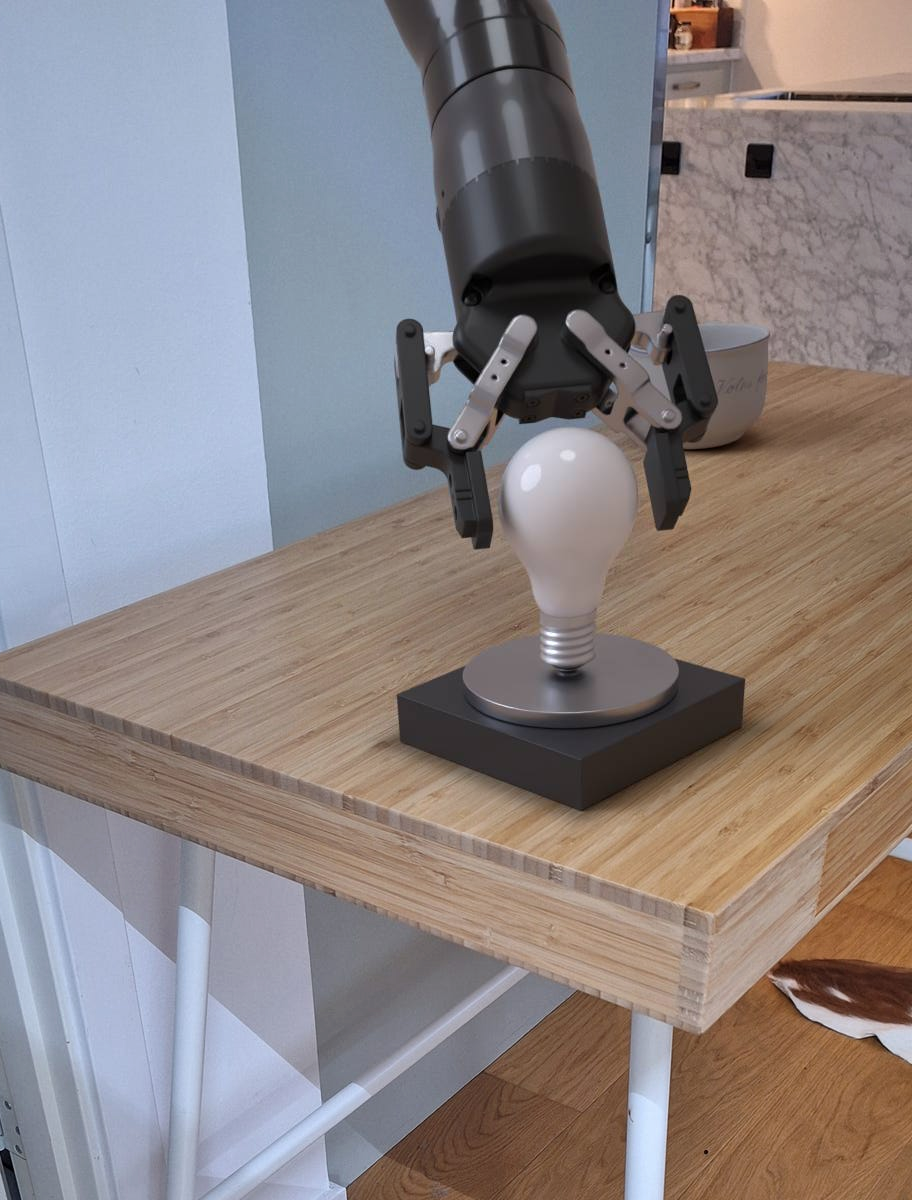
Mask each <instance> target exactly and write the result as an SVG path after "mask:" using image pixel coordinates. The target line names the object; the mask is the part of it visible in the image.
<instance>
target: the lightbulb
mask: <svg viewBox="0 0 912 1200" xmlns="http://www.w3.org/2000/svg"><path fill="white" fill-rule="evenodd" d="M639 503H640V495H639V486H638V481H637V477H636V473H635V471H634V469H633V465H632V464H631V462H630V460H629V459H628V457H627V456H626V454H625V452H624V451H623V450H622V449H621V448H620V447H619V445H617V444H616V443H615V442H614V441H612V439H610V438H608V437H607V436H605V435H604V434H602V433H600V432H598V431H596V430H593V429H589V428H586V427H581V426H560V427H554V428H551V429H548V430H545V431H543V432H541V433H539V434H537V435H535V436H533V437H532V438H530V439H528V441H526V442H525V443H524V444H523V445H522V446H520V447H519V448H518V450H517V451H516V452H515V454H513V456H512V457H511V458H510V460H509V462H508V464H507V466H506V468H505V469H504V472H503V474H502V477H501V480H500V484H499V489H498V494H497V514H498V520H499V523H500V527H501V530H502V533H503V536H504V537H505V539H506V542H507V544H508V545H509V546H510V548H511V550H512V551H513V553H514V554H515V556H516V557H517V559H518V561H520V563H521V564H522V566H523V567H524V569H525V571H526V574H527V576H528V579H529V582H530V586H531V587H530V588H531V592H532V596H533V599H534V601H535V604H536V606H537V607H538V609H539V624H540V626H541V627H540V628H539V633H540V634H542V636H541V637H540V641H541V643H542V644H541V646H540V650H541V651H542V652H541V654H540V657H541V659H542V660H543V661H544V662H546V663H548V664H550V665H551V666H553V667H555V668H557V669H559V670H561V671H574V670H576V669H578V668H580V667H582V666H584V665H585V664H587V663H588V662H590V661H592V660H593V659H594V658H595V656H596V648H595V645H596V639H595V636H596V633H597V631H596V628H597V622H596V619H597V614H598V613H597V611H598V610H597V608H598V605H600V602H601V600H602V597H603V594H604V589H605V585H606V580H607V576H608V574H609V571H610V569H611V568H612V566H613V564H614V562H615V561H616V559H617V558H618V556H619V554H620V553H621V552H622V550H623V549H624V547H625V546H626V544H627V542H628V540H629V539H630V537H631V534H632V532H633V530H634V528H635V525H636V522H637V517H638V513H639Z"/></svg>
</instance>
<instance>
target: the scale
mask: <svg viewBox="0 0 912 1200" xmlns="http://www.w3.org/2000/svg"><path fill="white" fill-rule="evenodd" d="M539 635H542V634H541V633H540V634H539ZM673 658H674V659H675V660H676V662H677V664H678V667H679V685H678V690H677V692H676V694H675V696H674V697H673V698H672V699H671V700H670V701H669V702H668V703H667V704H666V705H664V706H663V707H661V708H660V709H658V710H656V711H654V712H652V713H650V714H647V715H645V716H642V717H639V718H636V719H633V720H630V721H626V722H622V723H617V724H612V725H606V726H598V727H589V728H568V729H559V728H541V727H532V726H525V725H519V724H514V723H510V722H506V721H502V720H499V719H496V718H493V717H491V716H488V715H486V714H484V713H482V712H481V711H479V710H477V709H476V708H475V707H473V706H472V705H471V704H470V703H469V702H468V701H467V699H466V697H465V695H464V691H463V671H464V669H465V667H466V665H463V666H461V667H459V668H457V669H454V670H451V671H449V672H446V673H444V674H441V675H439V676H437V677H435V678H432V679H429V680H427V681H425V682H423V683H420V684H418V685H415V686H413V687H410V688H408V689H405V690H403V691H401V692H398V693H397V694H396V705H397V706H396V707H397V716H398V717H397V718H398V719H397V721H398V734H399V741H400V742H401V743H404V744H406V745H409V746H411V747H414V748H416V749H419V750H422V751H424V752H428V753H430V754H432V755H435V756H437V757H440V758H442V759H446V760H448V761H451V762H453V763H456V764H458V765H461V766H464V767H466V768H469V769H472V770H473V771H476V772H480V773H481V774H484V775H487V776H489V777H492V778H495V779H496V780H497V779H498V780H500V781H503V782H505V783H508V784H511V785H513V786H516V787H518V788H521V789H524V790H527V791H529V792H532V793H534V794H537V795H539V796H542V797H545V798H547V799H550V800H553V801H554V802H555V801H556V802H558V803H561V804H562V805H566V806H569V807H571V808H573V809H576V810H579V811H583V810H585V809H588V808H589V807H591V806H593V805H595V804H597V803H600V802H601V801H603V800H605V799H607V798H608V797H610V796H613V795H614V794H616V793H618V792H620V791H621V790H624V789H625V788H628V787H630V786H631V785H633V784H635V783H637V782H640V781H641V780H643V779H645V778H647V777H648V776H651V775H653V774H654V773H657V772H658V771H660V770H662V769H664V768H667V767H668V766H669V765H672V764H673V763H675V762H677V761H679V760H680V759H683V758H685V757H687V756H689V755H690V754H692V753H694V752H696V751H697V750H698V751H699V750H700V749H702V748H704V747H706V746H708V745H710V744H711V743H713V742H715V741H716V740H718V739H719V740H720V739H721V738H722V737H724V736H725V737H726V736H727V735H728V734H730V733H733V732H734V731H736V730H738V729H740V728H742V726H743V720H744V719H743V717H744V705H745V704H744V703H745V690H746V678H745V677H741V676H738V675H734V674H731V673H727V672H723V671H720V670H717V669H713V668H710V667H707V666H703V665H699V664H696V663H692V662H688V661H685V660H681V659H678V658H675V657H673Z"/></svg>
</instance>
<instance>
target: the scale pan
mask: <svg viewBox="0 0 912 1200" xmlns="http://www.w3.org/2000/svg"><path fill="white" fill-rule="evenodd" d="M541 636H542V635H540V634H536V635H535V634H534V635H530V636H524V637H519V638H515V639H512V640H507V641H504V642H501V643H498V644H497V645H493V646H491V647H489V648H486V649H484V650H483V651H481V652H479V653H478V654H476V655H475V656H473V657H472V658H471V659H470V660H469V661H468V662H467V663H466V665H465V666H466V667H465V669H464V671H463V691H464V695H465V697H466V699H467V701H468V702H469V703H470V704H471V705H472V706H473V707H475V708H476V709H477V710H479V711H481V712H482V713H484V714H486V715H488V716H491V717H493V718H496V719H499V720H502V721H506V722H510V723H514V724H519V725H525V726H532V727H541V728H559V729H568V728H589V727H598V726H606V725H612V724H617V723H622V722H626V721H630V720H633V719H636V718H639V717H642V716H645V715H647V714H650V713H652V712H654V711H656V710H658V709H660V708H661V707H663V706H664V705H666V704H667V703H668V702H669V701H670V700H671V699H672V698H673V697H674V696H675V694H676V692H677V690H678V685H679V667H678V664H677V662H676V660H675V659H676V658H675V657H673V655H672V654H670V653H669V652H668V651H666V650H665V649H663V648H661V647H660V646H658V645H654V644H652V643H650V642H647V641H644V640H640V639H638V638H633V637H629V636H623V635H618V634H610V633H602V632H596V636H595V639H596V645H595V648H596V656H595V658H594V659H593V660H592V661H590V662H588V663H587V664H585V665H584V666H582V667H580V668H578V669H576V670H574V671H561V670H559V669H557V668H555V667H553V666H551V665H550V664H548V663H546V662H544V661H543V660H542V659H541V657H540V654H541V652H542V651H541V650H540V646H541V644H542V643H541V641H540V637H541ZM674 658H675V659H674Z"/></svg>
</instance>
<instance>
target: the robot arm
mask: <svg viewBox="0 0 912 1200" xmlns="http://www.w3.org/2000/svg"><path fill="white" fill-rule="evenodd" d="M382 1H383V4H384V5H385V7H386V9H387V11H388V12H387V13H389V16H390V18H391V20H392V23H393V25H394V27H395V29H396V32H397V33H398V35H399V38H400V40H401V42H402V45H403V46H404V48H405V50H406V51H407V54H408V55H409V57H410V58H411V60H412V63H413V64H414V66H415V68H416V70H417V72H418V75H419V77H420V81H421V90H422V97H423V102H424V106H425V112H426V113H425V114H426V118H427V124H428V125H427V126H428V130H429V136H430V141H431V152H432V179H433V191H434V197H435V203H436V206H435V219H436V224H437V227H438V231H439V232H440V235H441V239H442V240H441V241H442V244H443V250H444V256H445V263H446V268H447V273H448V278H449V285H450V290H451V296H452V297H451V298H452V303H453V309H454V315H455V320H456V324H455V326H454V329H453V330H440V331H439V330H438V331H424V328H423V325H422V324H421V322H419V320H416V319H414V318H405V319H402V320H400V321H399V323H398V324H397V326H396V332H395V344H394V360H393V367H394V368H393V369H394V378H395V388H396V389H395V390H396V400H397V410H398V421H399V430H400V440H401V441H400V442H401V452H402V459H403V460H402V461H403V463H404V465H405V466H406V467H407V468H409V469H410V470H414V471H421V470H423V469H425V468H426V467H428V468H432V469H436V470H439V471H440V472H441V473H443V474H444V476H445V477H446V481H447V484H448V490H449V496H450V502H451V507H452V514H453V521H454V526H455V530H456V531H457V533H458V534H459V536H460V538H461V539H469V538H470V539H471V544H472V549H473V551H474V550H477V551H478V550H485V549H490V548H491V543H492V541H493V535H494V518H493V512H492V507H491V506H492V505H491V501H490V496H489V490H488V488H489V487H488V482H487V477H486V473H485V472H486V471H485V466H484V460H483V454H482V451H483V450H484V448H485V447H487V446H488V445H489V444H490V443H491V440H492V439H493V437H494V436H495V434H496V432H497V430H499V427H500V425H501V424H502V422H503V420H504V419H505V417H506V416H507V417H510V418H512V419H516V420H517V421H518V425H529V424H536V423H539V422H542V421H545V420H548V419H550V418H554V419H563V420H578V419H579V420H581V419H586V415H587V413H589V412H591V413H593V414H594V415H595V416H596V417H597V418H598V419H599V420H600V421H601V422H602V423H604V425H606V426H607V427H608V428H609V429H610V430H611V431H613V432H614V433H623V434H625V435H626V436H627V437H628V438H629V439H630V440H631V441H632V442H634V443H635V444H636V445H637V446H638V447H639V448H640V449H641V450H642V451H643V452H645V454H644V455H645V456H644V458H643V461H642V464H643V469H644V475H645V480H646V485H647V490H648V491H647V492H648V496H649V500H650V506H651V511H652V516H653V521H654V522H653V523H654V527H655V530H656V531H657V532H661V531H671V530H674V529H675V527H676V524H677V523H678V520H679V518H680V517H682V516H683V514H684V512H685V509H686V507H687V505H688V503H689V501H690V498H691V494H692V485H691V484H692V483H691V479H690V475H689V474H690V473H689V470H688V464H687V459H686V455H685V449H684V448H683V443H685V442H690V443H696V442H699V441H700V440H702V438H703V437H704V435H705V432H706V430H707V425H708V423H709V421H710V419H711V416H712V414H713V413H714V411H715V409H716V407H717V405H718V397H717V393H716V390H715V386H714V382H713V379H712V375H711V371H710V367H709V364H708V360H707V356H706V353H705V349H704V345H703V342H702V338H701V334H700V330H699V327H698V324H699V323H698V320H697V316H696V312H695V309H694V305H693V302H692V300H690V298H689V297H687V296H686V295H683V294H675V295H673V296H671V297H670V298H669V299H668V300H667V303H666V306H665V308H664V309H659V310H653V311H645V312H639V313H632V311H631V310H630V309H629V307H627V306H626V304H625V303H624V301H623V300H622V298H621V296H620V294H619V289H618V282H617V275H616V270H615V265H614V259H613V254H612V249H611V243H610V238H609V234H608V229H607V223H606V219H605V213H604V208H603V207H604V206H603V202H602V197H601V193H600V187H599V181H598V177H597V176H598V175H597V172H596V167H595V161H594V156H593V151H592V148H591V147H592V146H591V142H590V140H589V137H588V133H587V131H586V128H585V125H584V122H583V120H582V116H581V114H580V111H579V106H578V103H577V98H576V92H575V87H574V82H573V77H572V70H571V67H570V61H569V55H568V51H567V47H566V46H567V45H566V42H565V37H564V33H563V29H562V26H561V23H560V20H559V18H558V15H557V12H556V11H555V9H554V8H553V6H552V3H550V1H549V0H382ZM633 344H635V345H639V346H642V347H643V348H644V349H645V350H646V351H647V353H648V355H649V357H650V358H651V359H652V360H651V361H652V363H653V364H654V365H656V366H658V365H660V364H662V368H663V372H664V376H665V380H666V383H667V387H668V391H669V395H670V398H671V401H670V400H669V399H667V398H666V397H665V396H664V395H663V394H662V393H661V392H660V391H659V390H658V389H656V388H655V387H654V386H653V385H652V383H651V381H650V377H649V374H648V372H647V371H646V370H645V369H644V368H643V367H642V366H641V365H640V364H639V363H638V362H637V361H636V360H634V359H633V358H632V357H631V356H630V351H629V350H630V347H631V345H633ZM450 362H452V363H453V365H454V367H455V368H456V370H457V371H458V372H460V374H461V375H462V376H464V378H466V380H467V381H469V382H470V383H471V384H472V388H471V390H470V393H469V395H468V398H467V400H466V402H465V403H464V406H463V407H462V409H461V410H460V412H459V414H458V415H457V417H456V419H455V421H454V422H453V423H452V425H451V426H450V427H446V426H442V425H439V424H434V423H433V416H432V403H431V395H430V387H431V386H432V385H434V384H436V383H437V382H438V381H439V380H440V377H441V371H442V369H443V367H444V366H445V365H446V364H447V363H450ZM612 383H613V384H614V386H615V388H616V392H615V391H614V390H613V389H612V388H610V387H611V385H612Z"/></svg>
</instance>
